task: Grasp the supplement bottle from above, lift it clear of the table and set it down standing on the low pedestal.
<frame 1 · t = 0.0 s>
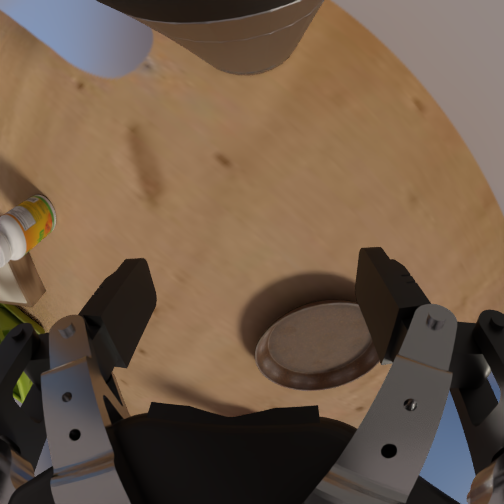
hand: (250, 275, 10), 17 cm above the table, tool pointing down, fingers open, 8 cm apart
plant saucer: (321, 337, 36), on the table
pedestal: (15, 263, 32), on the table
flower pot: (25, 326, 40), on the table
supplement bottle: (43, 212, 28), on the table
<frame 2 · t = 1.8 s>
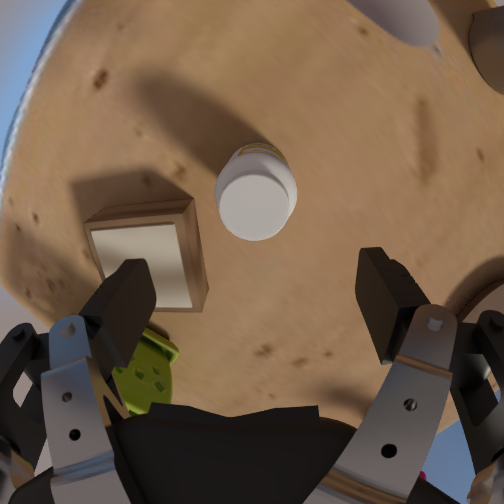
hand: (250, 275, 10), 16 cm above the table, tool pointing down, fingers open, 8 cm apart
plant saucer: (483, 316, 32), on the table
pedestal: (155, 248, 28), on the table
flower pot: (129, 340, 36), on the table
supplement bottle: (258, 171, 24), on the table
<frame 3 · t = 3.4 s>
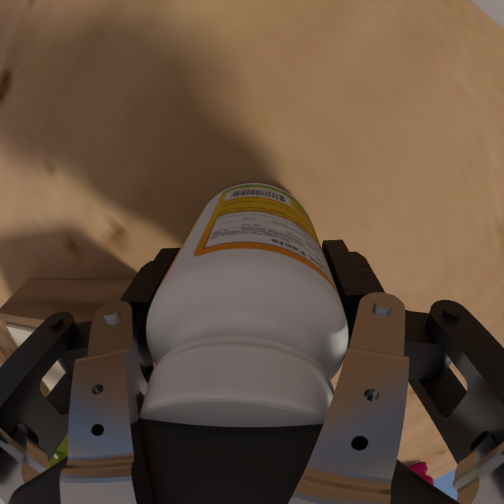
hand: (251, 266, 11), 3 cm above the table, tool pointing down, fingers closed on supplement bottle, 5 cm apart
pedestal: (103, 339, 17), on the table
supplement bottle: (254, 235, 13), on the table, touching gripper
pepper mill: (409, 468, 32), on the table
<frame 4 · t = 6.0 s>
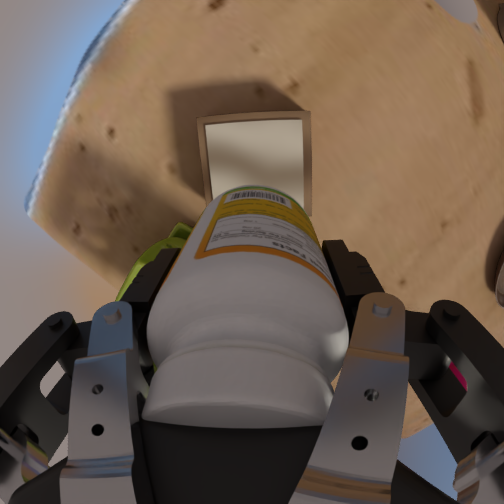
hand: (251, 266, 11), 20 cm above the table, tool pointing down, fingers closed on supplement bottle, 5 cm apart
pedestal: (257, 159, 28), on the table
flower pot: (201, 274, 36), on the table
supplement bottle: (255, 237, 13), point 18 cm above the table, touching gripper
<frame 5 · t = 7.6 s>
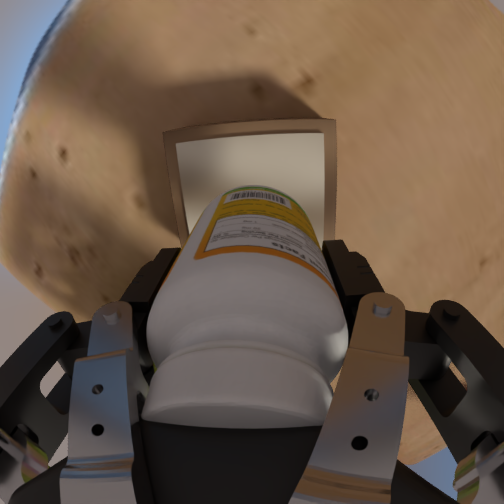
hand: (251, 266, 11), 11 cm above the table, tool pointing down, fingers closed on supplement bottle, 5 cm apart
pedestal: (256, 187, 21), on the table
supplement bottle: (255, 237, 13), point 8 cm above the table, touching gripper
when the fingers open (8 cm above the table, at t = 8.7 s): supplement bottle drops 1 cm, resting on pedestal.
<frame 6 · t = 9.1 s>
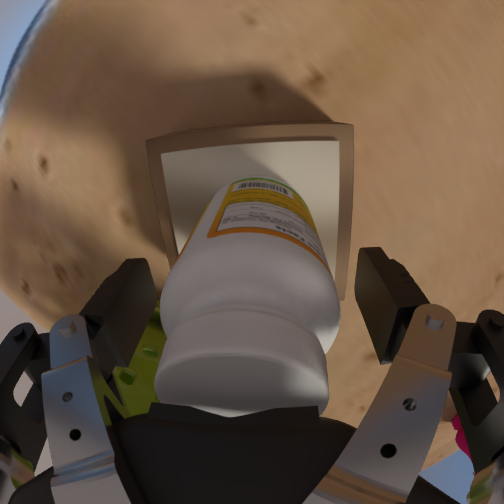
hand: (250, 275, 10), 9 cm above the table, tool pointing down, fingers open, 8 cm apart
pedestal: (257, 202, 18), on the table
flower pot: (182, 352, 25), on the table
supplement bottle: (258, 225, 14), point 4 cm above the table, touching pedestal
pepper mill: (465, 412, 33), on the table
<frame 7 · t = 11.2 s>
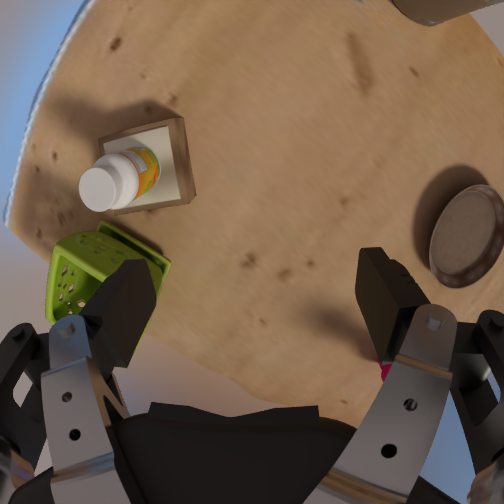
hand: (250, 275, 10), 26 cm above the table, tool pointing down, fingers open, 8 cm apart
plant saucer: (463, 232, 36), on the table
pedestal: (152, 163, 34), on the table
flower pot: (128, 264, 41), on the table
supplement bottle: (141, 168, 30), point 4 cm above the table, touching pedestal
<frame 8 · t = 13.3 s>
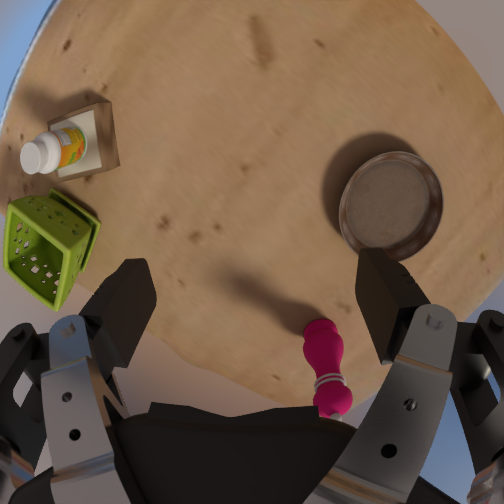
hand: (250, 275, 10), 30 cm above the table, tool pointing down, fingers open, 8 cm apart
plant saucer: (388, 204, 40), on the table
pedestal: (89, 140, 36), on the table
flower pot: (72, 226, 43), on the table
supplement bottle: (75, 144, 33), point 4 cm above the table, touching pedestal
pepper mill: (319, 330, 51), on the table
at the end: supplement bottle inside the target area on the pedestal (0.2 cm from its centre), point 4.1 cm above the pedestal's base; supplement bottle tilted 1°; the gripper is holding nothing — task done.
